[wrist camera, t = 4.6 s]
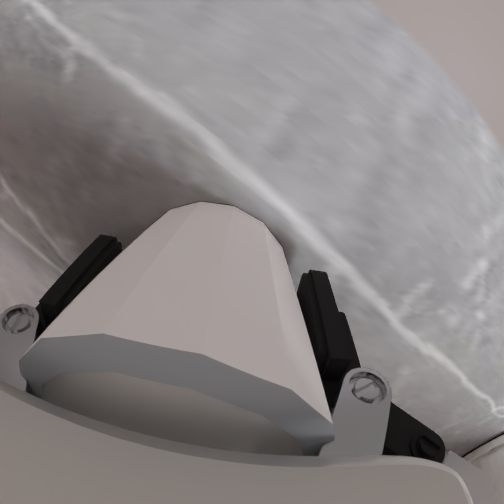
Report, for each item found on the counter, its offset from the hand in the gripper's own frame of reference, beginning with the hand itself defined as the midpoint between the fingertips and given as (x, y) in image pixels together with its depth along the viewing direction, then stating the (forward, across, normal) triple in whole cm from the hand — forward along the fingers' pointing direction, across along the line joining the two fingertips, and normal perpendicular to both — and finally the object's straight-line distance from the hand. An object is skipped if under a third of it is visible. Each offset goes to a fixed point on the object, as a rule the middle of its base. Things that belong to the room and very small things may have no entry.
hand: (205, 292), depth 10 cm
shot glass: (+1, 0, 0) cm, 1 cm away
